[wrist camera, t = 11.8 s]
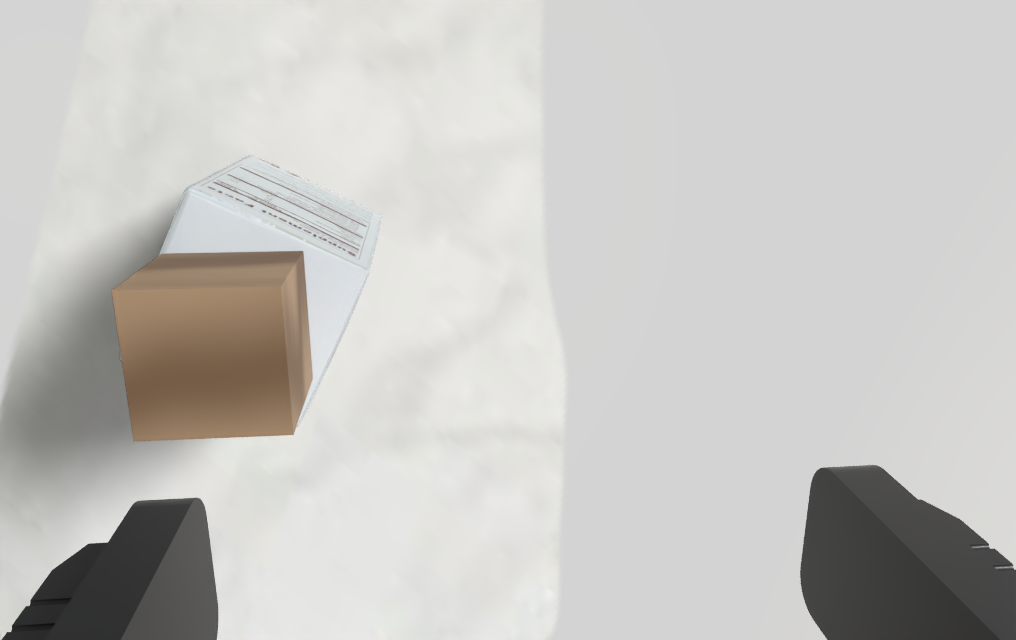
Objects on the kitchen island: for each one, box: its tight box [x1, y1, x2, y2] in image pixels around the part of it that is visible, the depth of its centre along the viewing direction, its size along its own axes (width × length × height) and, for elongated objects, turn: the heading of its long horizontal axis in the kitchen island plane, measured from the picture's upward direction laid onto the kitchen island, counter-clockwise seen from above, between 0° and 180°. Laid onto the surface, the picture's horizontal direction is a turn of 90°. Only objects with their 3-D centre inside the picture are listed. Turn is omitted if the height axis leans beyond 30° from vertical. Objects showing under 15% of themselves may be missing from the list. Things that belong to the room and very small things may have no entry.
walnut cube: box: [111, 251, 313, 441], centre depth 28 cm, size 5×5×5 cm
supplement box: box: [119, 155, 382, 427], centre depth 36 cm, size 7×7×13 cm
